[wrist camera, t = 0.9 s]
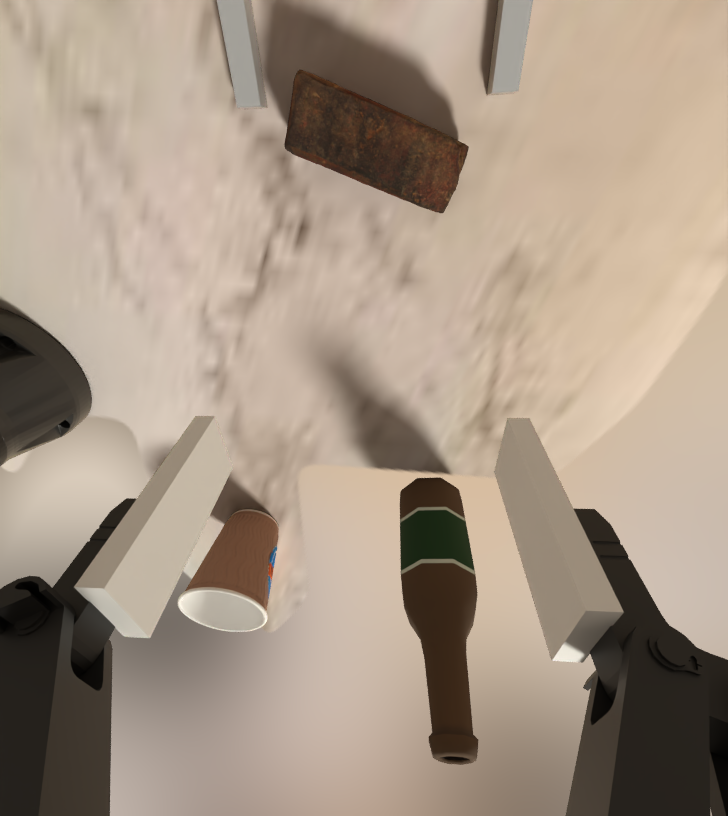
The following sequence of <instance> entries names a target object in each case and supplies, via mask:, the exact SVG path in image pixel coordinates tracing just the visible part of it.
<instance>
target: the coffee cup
mask: <svg viewBox="0 0 728 816" xmlns="http://www.w3.org/2000/svg"><path fill="white" fill-rule="evenodd" d="M278 530H279V528H278V524H277V522H276V521H275V520H274V519H273V518H272V517H271V516H270V515H268V514H266V513H264V512H262V511H258V510H253V509H244V510H239V511H237V512H235V513H234V514H232V516H231V517H230V519H229V520H228V521H227V522H226V524H225V525H224V527H223V529H222V530H221V532H220V534H219V535H218V537H217V539H216V540H215V542H214V544H213V545H212V547H211V549H210V550H209V552H208V554H207V555H206V557H205V559H204V560H203V562H202V564H201V565H200V567H199V569H198V570H197V572H196V574H195V575H194V577H193V579H192V580H191V582H190V584H189V585H188V587H187V589H186V590H185V592H184V593H182V594H181V595H180V596H179V598H178V607H179V609H180V610H181V611H182V613H184V614H185V615H186V616H187V617H189V618H190V619H192V620H193V621H195V622H197V623H199V624H202V625H205V626H207V627H210V628H214V629H218V630H224V631H232V632H245V631H251V630H256V629H258V628H260V627H262V626H263V625H264V624H265V623H266V621H267V613H266V610H267V604H268V598H269V593H270V587H271V580H272V575H273V568H274V563H275V557H276V551H277V542H278ZM182 598H183V599H182ZM181 600H182V601H181ZM263 619H264V620H263Z"/></svg>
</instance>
